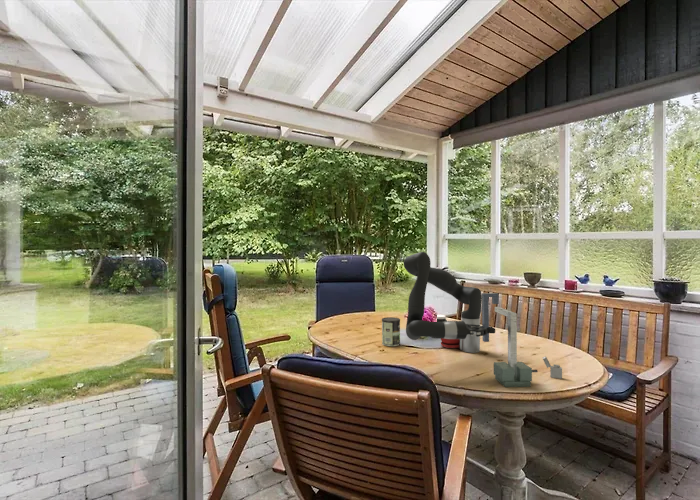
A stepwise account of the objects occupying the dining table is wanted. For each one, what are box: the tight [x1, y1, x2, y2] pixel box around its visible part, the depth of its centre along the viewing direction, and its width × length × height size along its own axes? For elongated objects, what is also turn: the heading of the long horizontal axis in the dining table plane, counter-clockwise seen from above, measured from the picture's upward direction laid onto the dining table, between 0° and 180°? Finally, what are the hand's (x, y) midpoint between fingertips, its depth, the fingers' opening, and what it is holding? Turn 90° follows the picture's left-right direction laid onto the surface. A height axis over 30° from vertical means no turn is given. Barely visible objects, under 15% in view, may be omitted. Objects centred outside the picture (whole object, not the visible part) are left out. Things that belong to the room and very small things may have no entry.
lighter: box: [542, 355, 563, 380], centre depth 148 cm, size 7×2×8 cm, turn 57°
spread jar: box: [436, 314, 448, 322], centre depth 219 cm, size 12×11×12 cm
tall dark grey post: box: [481, 292, 500, 343], centre depth 152 cm, size 6×2×20 cm, turn 91°
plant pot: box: [440, 338, 460, 349], centre depth 194 cm, size 13×13×12 cm
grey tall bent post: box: [493, 306, 538, 388], centre depth 147 cm, size 16×18×28 cm
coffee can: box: [381, 316, 401, 347], centre depth 200 cm, size 10×10×14 cm
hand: (493, 329), depth 152 cm, fingers closed on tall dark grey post, 2 cm apart
